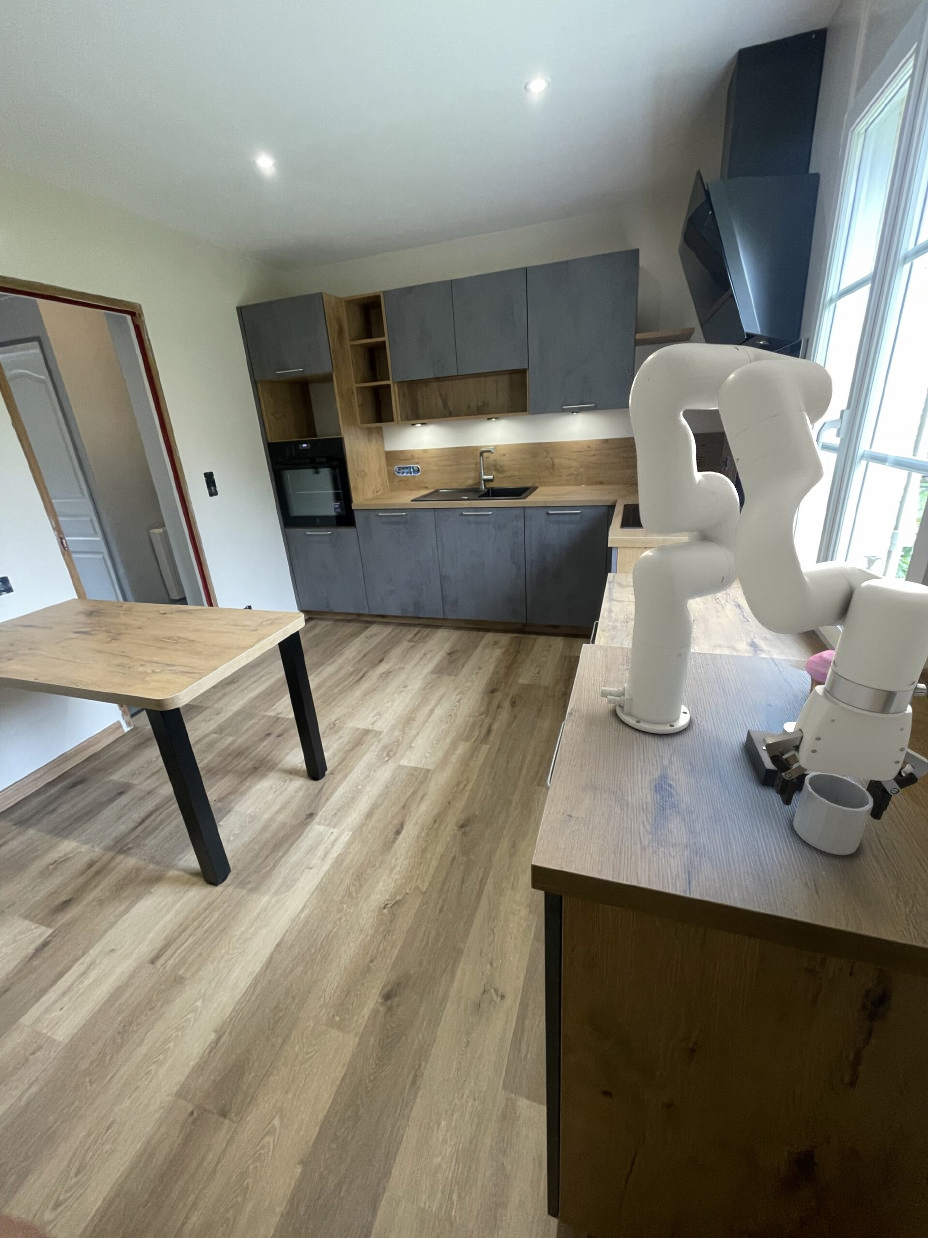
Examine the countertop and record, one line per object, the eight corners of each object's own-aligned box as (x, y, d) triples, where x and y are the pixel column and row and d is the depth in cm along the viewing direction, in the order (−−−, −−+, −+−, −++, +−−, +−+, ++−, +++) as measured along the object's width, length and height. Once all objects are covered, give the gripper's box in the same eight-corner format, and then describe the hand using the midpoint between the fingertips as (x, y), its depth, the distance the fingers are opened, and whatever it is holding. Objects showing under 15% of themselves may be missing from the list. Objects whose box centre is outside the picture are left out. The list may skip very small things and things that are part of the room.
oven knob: (783, 758, 72) (789, 734, 70) (774, 742, 75) (780, 718, 74) (813, 762, 71) (821, 737, 69) (803, 746, 74) (810, 722, 73)
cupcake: (795, 703, 91) (808, 656, 87) (800, 684, 97) (812, 639, 93) (855, 719, 86) (871, 668, 82) (856, 698, 92) (870, 650, 88)
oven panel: (762, 785, 71) (766, 767, 70) (744, 744, 80) (748, 728, 79) (841, 796, 68) (847, 778, 67) (814, 753, 77) (818, 736, 76)
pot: (803, 849, 60) (817, 805, 58) (785, 810, 66) (797, 768, 64) (867, 860, 59) (884, 815, 56) (843, 819, 65) (857, 776, 62)
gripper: (938, 681, 56) (890, 795, 63) (771, 664, 60) (743, 773, 67) (983, 717, 49) (924, 841, 56) (791, 696, 54) (758, 813, 60)
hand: (825, 804), depth 62 cm, fingers open, 9 cm apart
